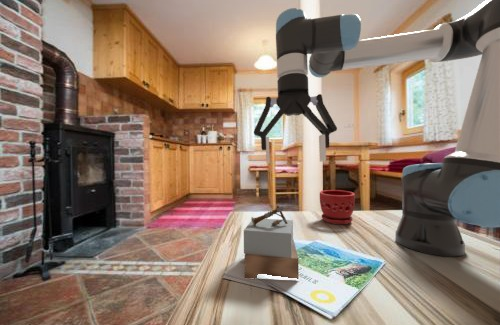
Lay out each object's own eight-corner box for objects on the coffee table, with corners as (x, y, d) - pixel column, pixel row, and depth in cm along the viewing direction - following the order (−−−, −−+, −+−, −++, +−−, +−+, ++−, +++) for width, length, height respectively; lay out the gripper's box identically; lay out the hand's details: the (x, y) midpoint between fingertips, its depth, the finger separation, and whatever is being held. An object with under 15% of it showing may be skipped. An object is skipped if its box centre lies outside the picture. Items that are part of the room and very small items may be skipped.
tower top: (292, 240, 53) (292, 220, 53) (291, 258, 43) (291, 233, 43) (253, 237, 55) (253, 218, 55) (243, 253, 45) (243, 230, 45)
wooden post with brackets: (291, 222, 47) (283, 204, 47) (259, 236, 48) (250, 218, 48) (290, 220, 49) (282, 202, 49) (258, 234, 49) (251, 216, 49)
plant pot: (313, 218, 89) (313, 190, 89) (338, 216, 93) (338, 189, 93) (334, 228, 77) (334, 195, 77) (362, 224, 81) (362, 193, 81)
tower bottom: (293, 258, 54) (293, 238, 54) (298, 283, 43) (298, 258, 43) (250, 256, 55) (250, 237, 55) (244, 280, 44) (244, 256, 44)
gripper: (337, 80, 56) (340, 160, 56) (244, 85, 57) (246, 163, 57) (349, 68, 48) (352, 160, 48) (241, 74, 50) (244, 164, 50)
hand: (295, 162), depth 53 cm, fingers open, 13 cm apart
